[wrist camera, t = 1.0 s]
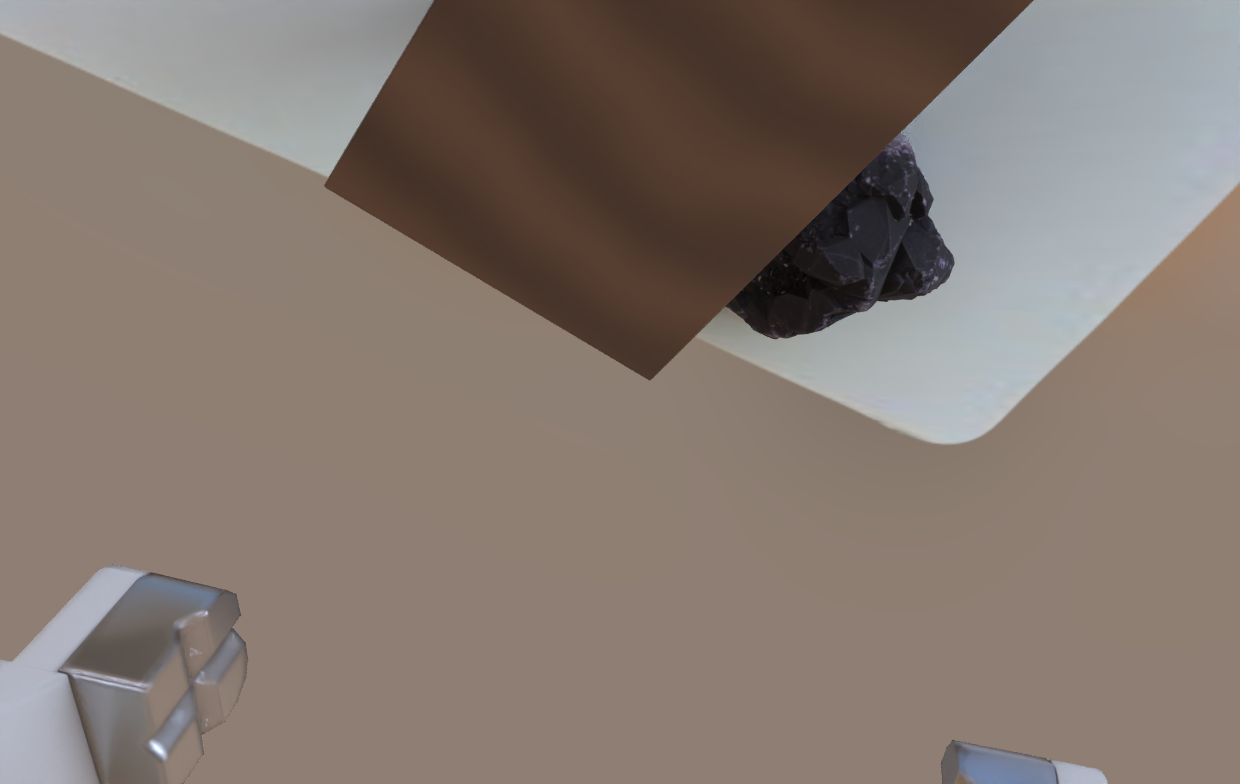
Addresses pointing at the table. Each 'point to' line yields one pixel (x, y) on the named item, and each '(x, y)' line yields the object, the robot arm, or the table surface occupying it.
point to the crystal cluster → (852, 253)
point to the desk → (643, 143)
